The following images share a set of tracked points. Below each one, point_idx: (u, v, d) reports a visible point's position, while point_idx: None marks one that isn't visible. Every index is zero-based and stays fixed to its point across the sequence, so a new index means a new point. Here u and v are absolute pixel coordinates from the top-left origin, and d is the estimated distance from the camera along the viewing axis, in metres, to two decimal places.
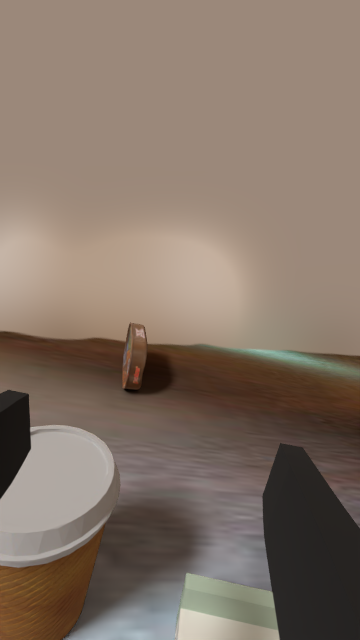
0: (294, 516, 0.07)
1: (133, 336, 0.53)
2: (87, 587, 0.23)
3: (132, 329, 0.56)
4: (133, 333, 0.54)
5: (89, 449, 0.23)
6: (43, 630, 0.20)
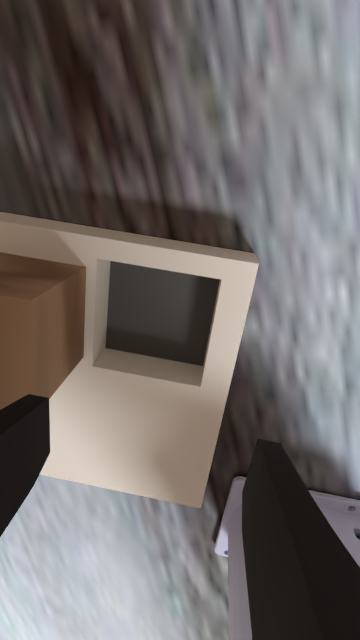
0: (266, 510, 0.07)
1: None
2: None
3: None
4: None
5: None
6: None
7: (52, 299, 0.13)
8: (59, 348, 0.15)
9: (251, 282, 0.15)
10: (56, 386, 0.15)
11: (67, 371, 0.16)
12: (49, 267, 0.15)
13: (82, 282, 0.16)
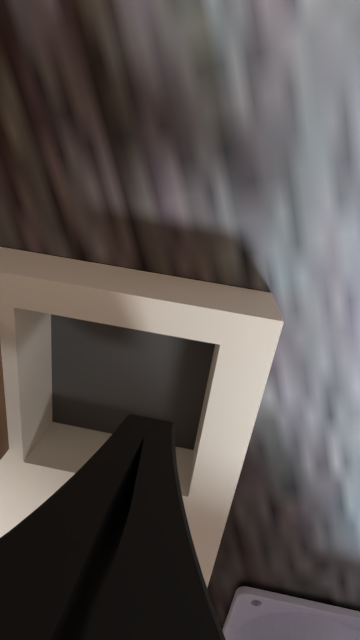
0: None
1: None
2: None
3: None
4: None
5: None
6: None
7: None
8: None
9: (270, 350, 0.09)
10: None
11: None
12: None
13: None
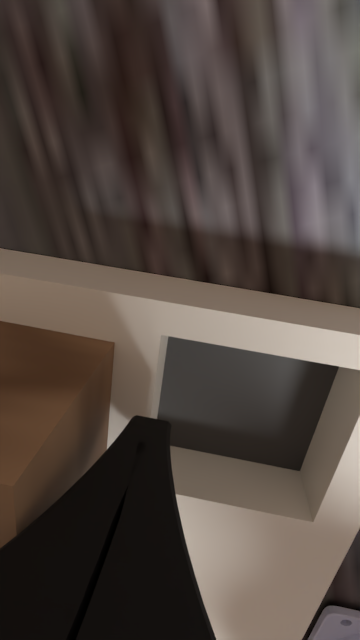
0: None
1: None
2: None
3: None
4: None
5: None
6: None
7: (60, 438, 0.07)
8: None
9: None
10: None
11: None
12: (53, 350, 0.09)
13: (108, 369, 0.10)
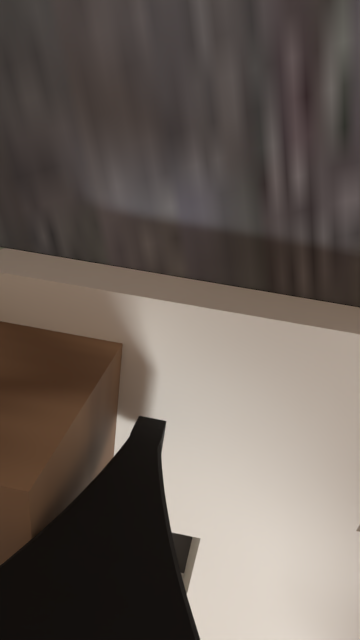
0: None
1: None
2: None
3: None
4: None
5: None
6: None
7: (72, 442, 0.07)
8: None
9: None
10: None
11: None
12: (62, 352, 0.09)
13: (116, 370, 0.09)
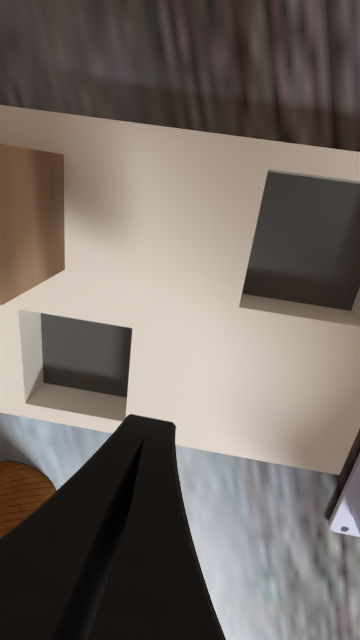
0: None
1: None
2: None
3: None
4: None
5: None
6: None
7: (19, 163, 0.11)
8: (31, 237, 0.13)
9: None
10: (29, 284, 0.13)
11: (43, 273, 0.14)
12: None
13: (59, 171, 0.14)
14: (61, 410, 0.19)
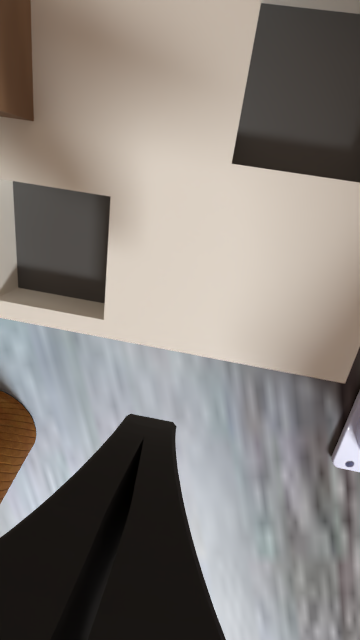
0: None
1: None
2: None
3: None
4: None
5: None
6: (10, 439, 0.21)
7: None
8: None
9: None
10: None
11: (2, 100, 0.12)
12: None
13: None
14: (33, 307, 0.17)
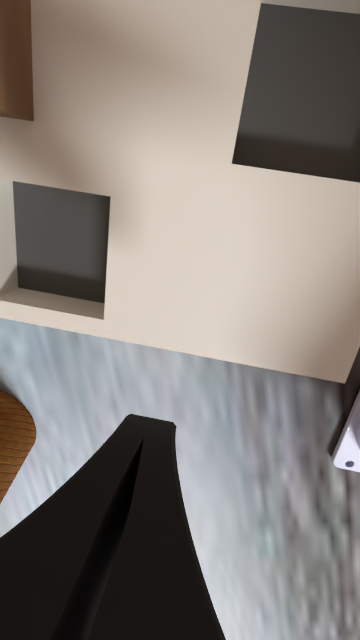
0: None
1: None
2: None
3: None
4: None
5: None
6: (10, 439, 0.21)
7: None
8: None
9: None
10: None
11: (2, 100, 0.12)
12: None
13: None
14: (33, 307, 0.17)
